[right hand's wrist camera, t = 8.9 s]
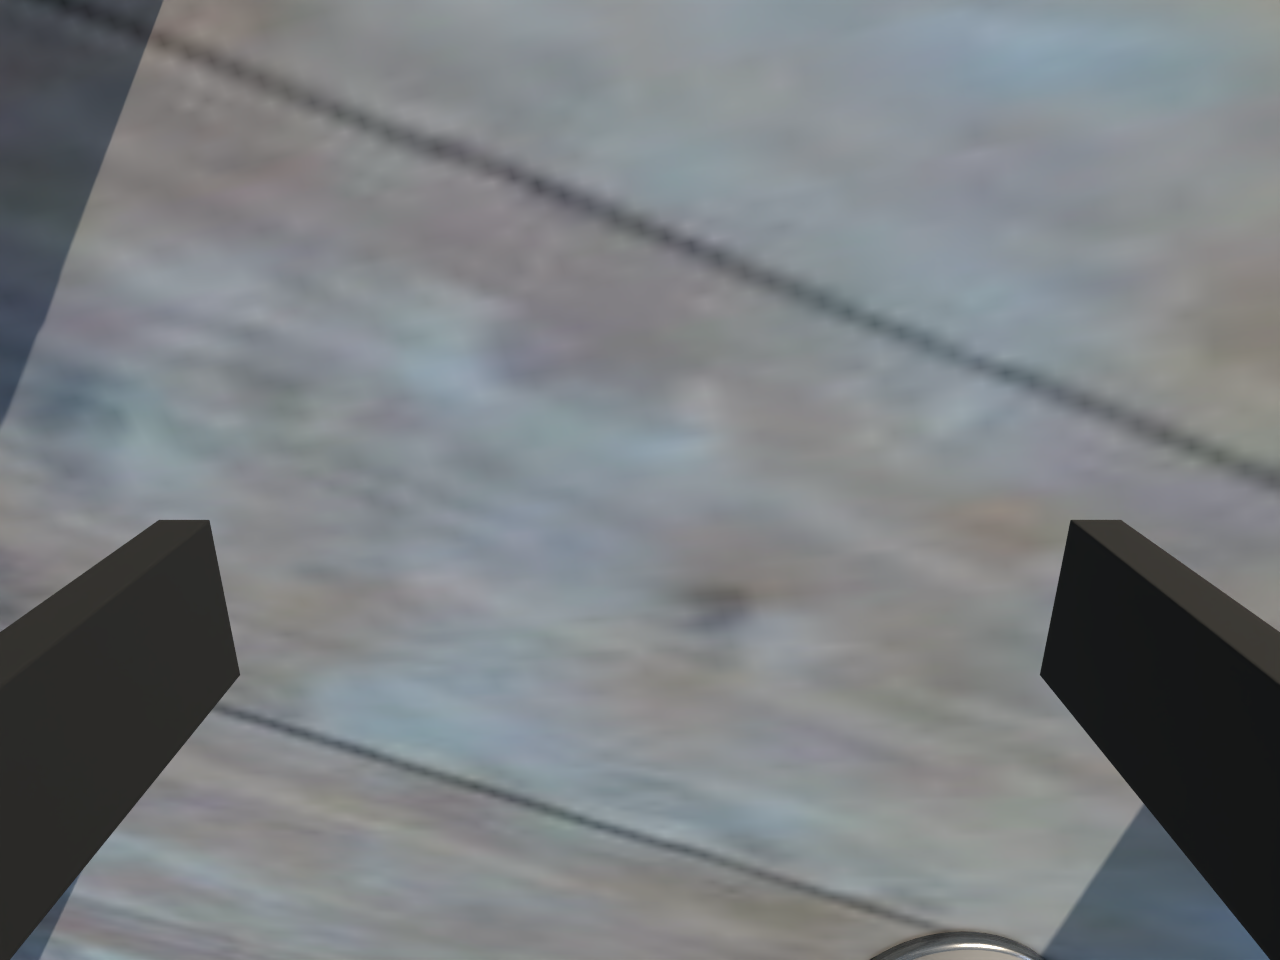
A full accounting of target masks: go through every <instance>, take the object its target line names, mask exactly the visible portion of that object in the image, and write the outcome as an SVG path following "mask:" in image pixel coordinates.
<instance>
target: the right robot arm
mask: <svg viewBox="0 0 1280 960" xmlns="http://www.w3.org/2000/svg"><path fill="white" fill-rule="evenodd" d="M239 676H240V672H239V667H238V662H237V657H236V652H235V647H234V642H233V637H232V632H231V627H230V622H229V617H228V612H227V607H226V602H225V597H224V592H223V586H222V581H221V576H220V571H219V566H218V561H217V556H216V551H215V546H214V541H213V536H212V531H211V526H210V521H209V520H158V521H157V522H156V523H154V524H153V525H151V526H150V527H148V528H147V529H146V530H144V531H143V532H141V533H140V534H139V535H137V536H136V537H134V538H133V539H132V540H130V541H129V542H127V543H126V544H124V545H123V546H122V547H120V548H119V549H117V550H116V551H115V552H113V553H112V554H110V555H109V556H107V557H106V558H105V559H103V560H102V561H100V562H99V563H98V564H96V565H95V566H93V567H92V568H90V569H89V570H88V571H86V572H85V573H83V574H82V575H81V576H79V577H78V578H76V579H75V580H73V581H72V582H71V583H69V584H68V585H66V586H65V587H64V588H62V589H61V590H59V591H58V592H57V593H55V594H54V595H52V596H51V597H49V598H48V599H47V600H45V601H44V602H42V603H41V604H40V605H38V606H37V607H35V608H34V609H32V610H31V611H30V612H28V613H27V614H25V615H24V616H23V617H21V618H20V619H18V620H17V621H15V622H14V623H13V624H11V625H10V626H8V627H7V628H6V629H4V630H3V631H1V632H0V960H10V959H11V958H12V956H13V955H14V954H15V953H16V951H17V950H18V949H19V948H20V946H21V945H22V944H23V943H24V941H25V940H26V939H27V938H28V937H29V935H30V934H31V933H32V932H33V930H34V929H35V928H36V927H37V925H38V924H39V923H40V922H41V920H42V919H43V918H44V917H45V915H46V914H47V913H48V912H49V911H50V909H51V908H52V907H53V906H54V904H55V903H56V902H57V901H58V899H59V898H60V897H61V896H62V894H63V893H64V892H65V891H66V890H67V888H68V887H69V886H70V885H71V883H72V882H73V881H74V880H75V878H76V877H77V876H78V875H79V873H80V872H81V871H82V870H83V868H84V867H85V866H86V865H87V864H88V862H89V861H90V860H91V859H92V857H93V856H94V855H95V854H96V852H97V851H98V850H99V849H100V847H101V846H102V845H103V844H104V843H105V841H106V840H107V839H108V838H109V836H110V835H111V834H112V833H113V831H114V830H115V829H116V828H117V826H118V825H119V824H120V823H121V821H122V820H123V819H124V818H125V817H126V815H127V814H128V813H129V812H130V810H131V809H132V808H133V807H134V805H135V804H136V803H137V802H138V800H139V799H140V798H141V797H142V795H143V794H144V793H145V792H146V791H147V789H148V788H149V787H150V786H151V784H152V783H153V782H154V781H155V779H156V778H157V777H158V776H159V774H160V773H161V772H162V771H163V770H164V768H165V767H166V766H167V765H168V763H169V762H170V761H171V760H172V758H173V757H174V756H175V755H176V753H177V752H178V751H179V750H180V748H181V747H182V746H183V745H184V744H185V742H186V741H187V740H188V739H189V737H190V736H191V735H192V734H193V732H194V731H195V730H196V729H197V727H198V726H199V725H200V724H201V723H202V721H203V720H204V719H205V718H206V716H207V715H208V714H209V713H210V711H211V710H212V709H213V708H214V706H215V705H216V704H217V703H218V701H219V700H220V699H221V698H222V697H223V695H224V694H225V693H226V692H227V690H228V689H229V688H230V687H231V685H232V684H233V683H234V682H235V680H236V679H237V678H238V677H239ZM1040 676H1041V677H1042V678H1043V679H1044V680H1045V682H1046V683H1047V684H1048V685H1049V687H1050V688H1051V689H1052V690H1053V692H1054V693H1055V694H1056V695H1057V697H1058V698H1059V699H1060V700H1061V701H1062V703H1063V704H1064V705H1065V706H1066V708H1067V709H1068V710H1069V711H1070V713H1071V714H1072V715H1073V716H1074V718H1075V719H1076V720H1077V721H1078V723H1079V724H1080V725H1081V726H1082V727H1083V729H1084V730H1085V731H1086V732H1087V734H1088V735H1089V736H1090V737H1091V739H1092V740H1093V741H1094V742H1095V744H1096V745H1097V746H1098V747H1099V748H1100V750H1101V751H1102V752H1103V753H1104V755H1105V756H1106V757H1107V758H1108V760H1109V761H1110V762H1111V763H1112V765H1113V766H1114V767H1115V768H1116V770H1117V771H1118V772H1119V773H1120V774H1121V776H1122V777H1123V778H1124V779H1125V781H1126V782H1127V783H1128V784H1129V786H1130V787H1131V788H1132V789H1133V791H1134V792H1135V793H1136V794H1137V795H1138V797H1139V798H1140V799H1141V800H1142V802H1143V803H1144V804H1145V805H1146V807H1147V808H1148V809H1149V810H1150V812H1151V813H1152V814H1153V815H1154V817H1155V818H1156V819H1157V820H1158V821H1159V823H1160V824H1161V825H1162V826H1163V828H1164V829H1165V830H1166V831H1167V833H1168V834H1169V835H1170V836H1171V838H1172V839H1173V840H1174V841H1175V843H1176V844H1177V845H1178V846H1179V847H1180V849H1181V850H1182V851H1183V852H1184V854H1185V855H1186V856H1187V857H1188V859H1189V860H1190V861H1191V862H1192V864H1193V865H1194V866H1195V867H1196V868H1197V870H1198V871H1199V872H1200V873H1201V875H1202V876H1203V877H1204V878H1205V880H1206V881H1207V882H1208V883H1209V885H1210V886H1211V887H1212V888H1213V890H1214V891H1215V892H1216V893H1217V894H1218V896H1219V897H1220V898H1221V899H1222V901H1223V902H1224V903H1225V904H1226V906H1227V907H1228V908H1229V909H1230V911H1231V912H1232V913H1233V914H1234V915H1235V917H1236V918H1237V919H1238V920H1239V922H1240V923H1241V924H1242V925H1243V927H1244V928H1245V929H1246V930H1247V932H1248V933H1249V934H1250V935H1251V937H1252V938H1253V939H1254V940H1255V941H1256V943H1257V944H1258V945H1259V946H1260V948H1261V949H1262V950H1263V951H1264V953H1265V954H1266V955H1267V956H1268V958H1269V959H1270V960H1280V632H1279V631H1277V630H1276V629H1274V628H1273V627H1272V626H1270V625H1269V624H1267V623H1266V622H1265V621H1263V620H1262V619H1260V618H1259V617H1257V616H1256V615H1255V614H1253V613H1252V612H1250V611H1249V610H1248V609H1246V608H1245V607H1243V606H1242V605H1240V604H1239V603H1238V602H1236V601H1235V600H1233V599H1232V598H1231V597H1229V596H1228V595H1226V594H1225V593H1223V592H1222V591H1221V590H1219V589H1218V588H1216V587H1215V586H1214V585H1212V584H1211V583H1209V582H1208V581H1207V580H1205V579H1204V578H1202V577H1201V576H1199V575H1198V574H1197V573H1195V572H1194V571H1192V570H1191V569H1190V568H1188V567H1187V566H1185V565H1184V564H1182V563H1181V562H1180V561H1178V560H1177V559H1175V558H1174V557H1173V556H1171V555H1170V554H1168V553H1167V552H1165V551H1164V550H1163V549H1161V548H1160V547H1158V546H1157V545H1156V544H1154V543H1153V542H1151V541H1150V540H1148V539H1147V538H1146V537H1144V536H1143V535H1141V534H1140V533H1139V532H1137V531H1136V530H1134V529H1133V528H1132V527H1130V526H1129V525H1127V524H1126V523H1124V522H1123V521H1122V520H1071V521H1070V526H1069V531H1068V536H1067V541H1066V546H1065V551H1064V556H1063V561H1062V566H1061V571H1060V576H1059V581H1058V586H1057V592H1056V597H1055V602H1054V607H1053V612H1052V617H1051V622H1050V627H1049V632H1048V637H1047V642H1046V647H1045V652H1044V657H1043V662H1042V667H1041V672H1040ZM872 960H1044V959H1043V958H1042V957H1041V956H1040V955H1038V954H1037V953H1036V952H1034V951H1033V950H1031V949H1030V948H1028V947H1026V946H1024V945H1022V944H1020V943H1018V942H1016V941H1013V940H1010V939H1008V938H1004V937H1000V936H997V935H992V934H986V933H977V932H948V933H940V934H934V935H928V936H924V937H920V938H916V939H913V940H910V941H907V942H904V943H902V944H899V945H897V946H895V947H892V948H891V949H889V950H887V951H885V952H883V953H881V954H880V955H878V956H876V957H875V958H873V959H872Z"/></svg>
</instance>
